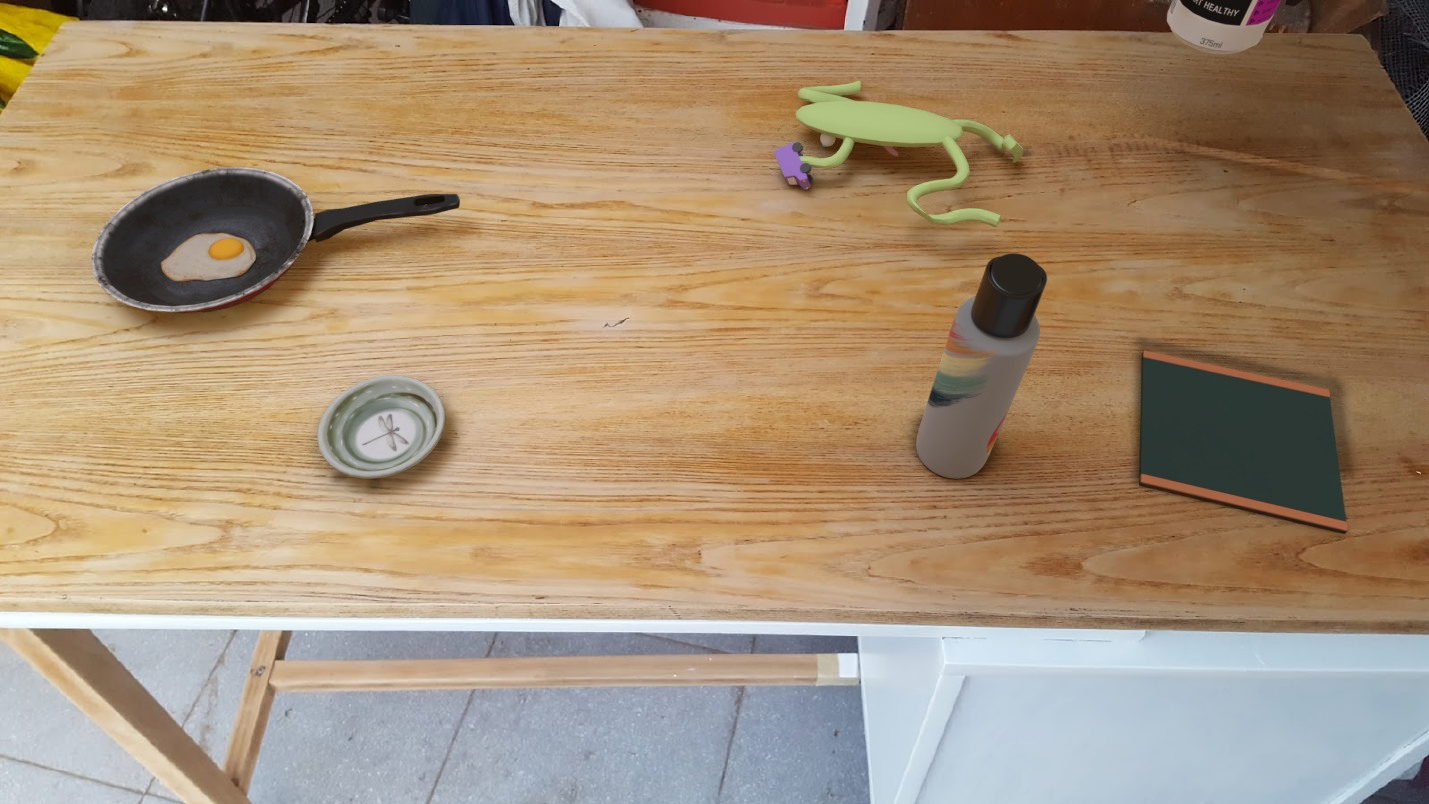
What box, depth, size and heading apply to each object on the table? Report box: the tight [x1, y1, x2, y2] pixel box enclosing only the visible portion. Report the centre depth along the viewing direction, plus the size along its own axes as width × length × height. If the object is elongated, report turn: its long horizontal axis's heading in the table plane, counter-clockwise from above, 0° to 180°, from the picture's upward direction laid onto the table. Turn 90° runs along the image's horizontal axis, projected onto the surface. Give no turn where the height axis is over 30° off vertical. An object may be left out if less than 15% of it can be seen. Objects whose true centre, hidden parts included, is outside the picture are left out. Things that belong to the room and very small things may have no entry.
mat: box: [1138, 350, 1349, 534], centre depth 76 cm, size 15×14×1 cm
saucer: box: [316, 375, 446, 480], centre depth 74 cm, size 10×10×2 cm
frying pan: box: [90, 166, 461, 315], centre depth 87 cm, size 19×32×4 cm, turn 102°
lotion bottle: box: [915, 252, 1048, 480], centre depth 67 cm, size 6×6×20 cm
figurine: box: [772, 79, 1024, 228], centre depth 94 cm, size 18×27×6 cm
